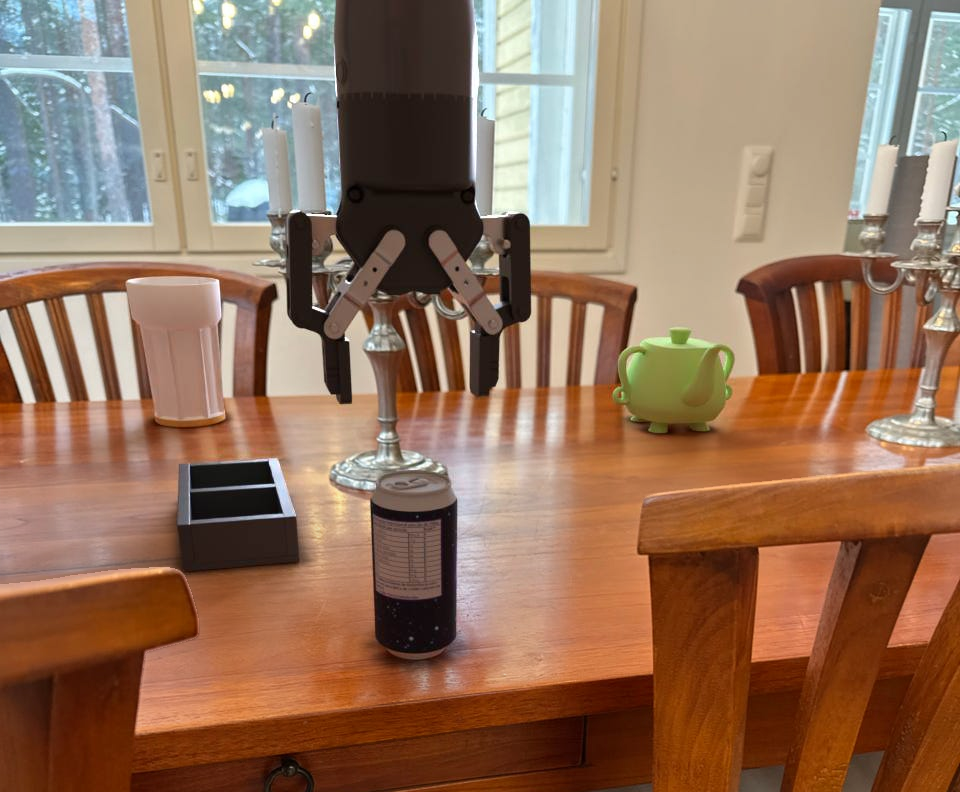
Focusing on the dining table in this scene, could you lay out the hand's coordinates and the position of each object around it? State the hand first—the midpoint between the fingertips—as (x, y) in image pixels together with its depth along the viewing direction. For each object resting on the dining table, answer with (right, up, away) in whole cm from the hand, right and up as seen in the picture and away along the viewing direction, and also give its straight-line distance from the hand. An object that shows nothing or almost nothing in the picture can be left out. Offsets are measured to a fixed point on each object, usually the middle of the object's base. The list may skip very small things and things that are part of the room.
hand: (412, 398), depth 55 cm
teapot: (+31, +14, +67) cm, 75 cm away
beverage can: (0, -16, +8) cm, 17 cm away
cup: (-35, +15, +65) cm, 75 cm away
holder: (-18, -5, +28) cm, 33 cm away
